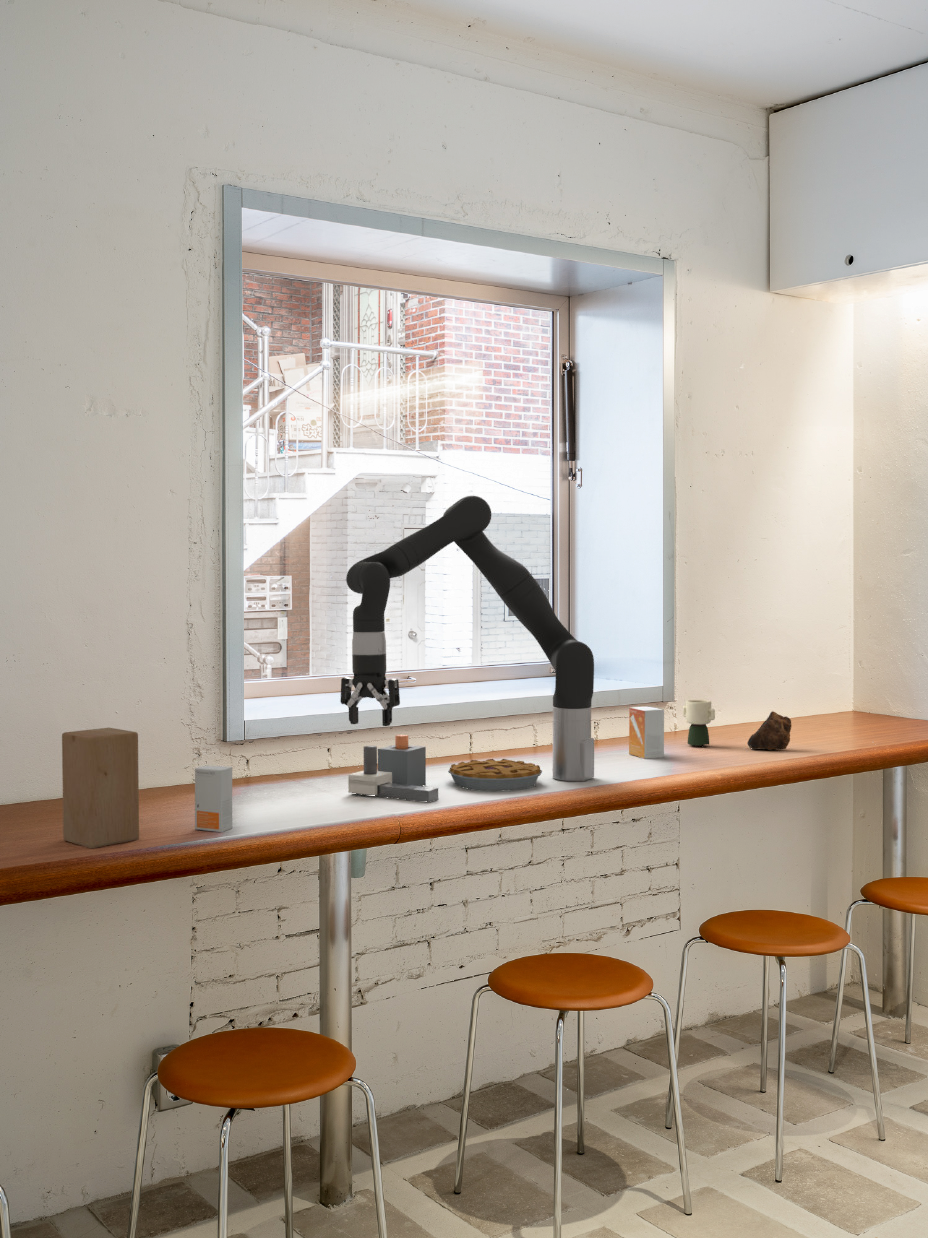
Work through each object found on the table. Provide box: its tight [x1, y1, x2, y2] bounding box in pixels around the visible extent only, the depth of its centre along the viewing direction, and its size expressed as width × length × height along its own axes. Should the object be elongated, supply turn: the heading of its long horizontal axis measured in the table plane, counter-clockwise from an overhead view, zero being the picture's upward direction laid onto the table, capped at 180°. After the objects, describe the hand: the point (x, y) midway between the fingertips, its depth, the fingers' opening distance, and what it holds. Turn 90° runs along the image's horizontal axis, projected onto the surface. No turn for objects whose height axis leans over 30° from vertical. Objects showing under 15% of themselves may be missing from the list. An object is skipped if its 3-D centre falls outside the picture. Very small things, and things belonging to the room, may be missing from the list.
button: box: [394, 734, 409, 750], centre depth 261 cm, size 3×3×4 cm
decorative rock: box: [747, 710, 792, 751], centre depth 316 cm, size 12×6×11 cm, turn 82°
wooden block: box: [61, 727, 140, 849], centre depth 208 cm, size 10×10×20 cm
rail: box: [355, 783, 439, 803], centre depth 249 cm, size 20×4×2 cm, turn 61°
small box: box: [628, 705, 665, 760], centre depth 306 cm, size 8×6×13 cm
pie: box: [447, 758, 543, 792], centre depth 265 cm, size 22×22×5 cm
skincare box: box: [194, 764, 233, 833], centre depth 217 cm, size 6×4×12 cm
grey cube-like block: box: [377, 744, 427, 786], centre depth 261 cm, size 8×8×9 cm
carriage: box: [347, 745, 392, 795], centre depth 252 cm, size 7×7×10 cm
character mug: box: [682, 699, 716, 747], centre depth 323 cm, size 11×7×13 cm, turn 42°
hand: (370, 724), depth 252 cm, fingers open, 8 cm apart
